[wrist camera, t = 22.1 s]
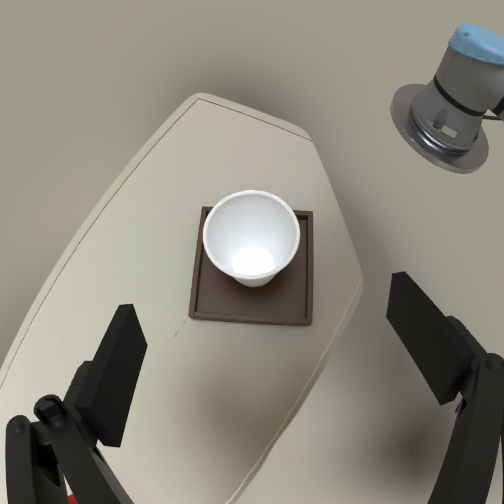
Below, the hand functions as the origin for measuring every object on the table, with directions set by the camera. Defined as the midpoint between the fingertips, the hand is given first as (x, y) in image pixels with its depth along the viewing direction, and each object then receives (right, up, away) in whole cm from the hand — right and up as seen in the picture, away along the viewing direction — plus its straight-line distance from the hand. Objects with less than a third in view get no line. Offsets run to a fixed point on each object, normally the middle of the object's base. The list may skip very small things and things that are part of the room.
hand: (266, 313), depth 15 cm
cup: (0, +1, +27) cm, 27 cm away
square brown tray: (0, +1, +28) cm, 28 cm away
